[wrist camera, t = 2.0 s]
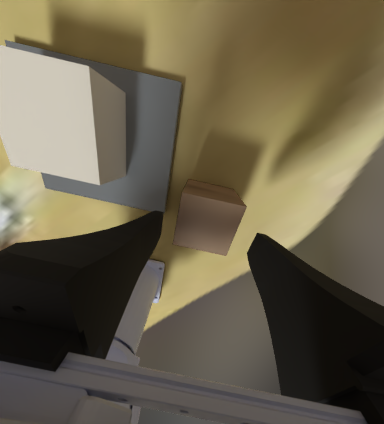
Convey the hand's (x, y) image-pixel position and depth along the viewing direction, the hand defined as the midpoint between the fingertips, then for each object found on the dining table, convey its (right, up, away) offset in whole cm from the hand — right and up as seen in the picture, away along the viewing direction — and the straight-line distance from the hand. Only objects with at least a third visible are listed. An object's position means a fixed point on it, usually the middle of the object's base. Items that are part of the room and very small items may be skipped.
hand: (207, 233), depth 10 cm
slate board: (-10, +8, +3) cm, 14 cm away
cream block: (-11, +9, +2) cm, 15 cm away
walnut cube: (0, +3, +5) cm, 6 cm away
